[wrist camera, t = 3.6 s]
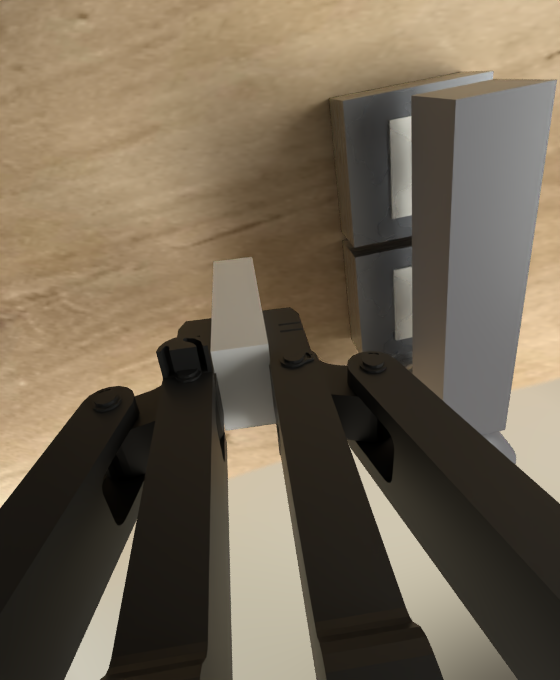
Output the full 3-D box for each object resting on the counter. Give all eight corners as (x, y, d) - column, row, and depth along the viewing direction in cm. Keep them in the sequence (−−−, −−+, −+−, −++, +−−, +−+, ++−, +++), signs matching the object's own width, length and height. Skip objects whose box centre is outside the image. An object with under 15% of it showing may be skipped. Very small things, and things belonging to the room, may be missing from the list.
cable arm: (391, 98, 15) (437, 104, 12) (507, 75, 15) (583, 75, 12) (400, 453, 24) (427, 509, 20) (472, 438, 24) (510, 491, 21)
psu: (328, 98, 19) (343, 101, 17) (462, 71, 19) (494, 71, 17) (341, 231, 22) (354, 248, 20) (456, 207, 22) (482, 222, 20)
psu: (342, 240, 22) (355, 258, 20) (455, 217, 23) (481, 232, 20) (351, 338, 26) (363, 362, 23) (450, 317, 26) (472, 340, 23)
